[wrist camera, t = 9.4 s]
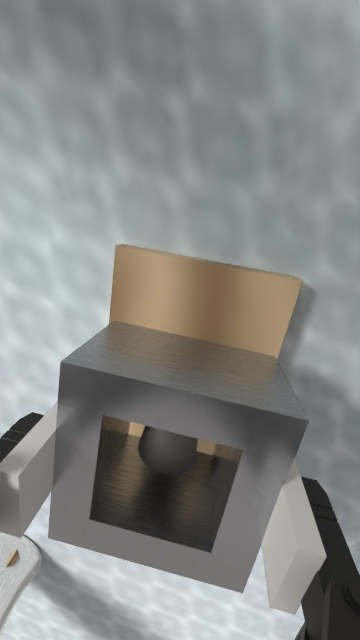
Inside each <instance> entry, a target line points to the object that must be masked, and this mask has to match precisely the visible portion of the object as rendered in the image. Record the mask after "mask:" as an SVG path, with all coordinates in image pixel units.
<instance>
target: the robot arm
mask: <svg viewBox="0 0 360 640" xmlns="http://www.w3.org/2000/svg"><path fill="white" fill-rule="evenodd" d="M57 406H58V401H57V402H56V404H55V405H54V406H53V407H52V408H51V409H50V410H49V411H48V412H47V413H46V414H45V415H41V414H37V413H33V412H32V413H30V414H29V415H27V416H25V417H23V418H21V419H19V420H18V421H17V422H16V423H15V424H14V425H13V426H12V427H11V428H10V429H9V431H7V432H6V433H5V434H4V435H3V436H2V437H1V439H0V532H1V533H4V534H8V535H12V536H15V537H19V538H21V537H22V536H23V534H24V533H25V531H26V529H27V528H28V526H29V525H30V523H31V522H32V520H33V518H34V517H35V515H36V514H37V512H38V511H39V509H40V507H41V506H42V504H43V503H44V501H45V500H46V498H47V497H48V495H49V493H50V492H51V490H52V489H53V471H54V453H55V435H56V420H57ZM261 544H262V552H263V559H264V567H265V574H266V582H267V590H268V597H269V605H270V608H274V609H277V610H281V611H284V612H288V613H292V614H296V612H297V610H298V608H299V606H300V605H301V604H302V609H303V613H304V618H305V622H304V624H303V626H302V628H301V629H300V631H299V633H298V635H297V636H296V638H295V640H360V575H359V573H358V571H357V568H356V566H355V563H354V561H353V558H352V556H351V553H350V551H349V548H348V546H347V543H346V541H345V538H344V536H343V533H342V531H341V528H340V526H339V523H337V518H336V516H335V513H334V511H332V506H331V503H330V501H329V498H328V496H327V494H326V492H325V491H324V490H323V488H322V487H321V486H320V484H319V483H318V482H317V480H313V479H309V478H304V477H301V476H300V472H299V469H298V466H297V463H296V460H295V458H294V461H293V463H292V466H291V469H290V471H289V474H288V476H287V479H286V482H285V484H284V485H282V488H281V491H280V493H279V496H278V499H277V502H276V504H275V507H274V510H273V513H272V515H271V518H270V521H269V524H268V526H267V529H266V532H265V535H264V537H263V540H262V543H261Z"/></svg>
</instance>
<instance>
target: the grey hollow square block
mask: <svg viewBox="0 0 360 640" xmlns="http://www.w3.org/2000/svg"><path fill="white" fill-rule="evenodd" d="M130 422H133V423H137V424H141V425H145V426H149V427H153V428H157V429H161V430H165V431H169V432H173V433H177V434H181V435H185V436H189V437H193V438H197V439H201V440H205V441H209V442H213V443H216V445H215V448H214V452H213V455H210V454H206V453H202V452H198V451H196V459H195V462H194V464H193V465H192V467H191V468H190V469H189V470H187V471H186V472H184V473H181V474H177V475H165V474H161V473H158V472H155V471H154V470H152V469H150V468H149V467H148V466H146V465H145V464H144V462H143V461H142V460H141V458H140V456H139V452H138V444H139V441H140V438H141V437H139V436H135V435H131V434H129V427H130ZM308 422H309V420H308V418H307V416H306V414H305V412H304V410H303V409H302V407H301V405H300V403H299V401H298V399H297V397H296V395H295V393H294V391H293V389H292V388H291V386H290V384H289V382H288V380H287V378H286V376H285V374H284V372H283V370H282V369H281V367H280V365H279V363H278V361H277V359H276V357H275V356H271V355H267V354H262V353H258V352H253V351H249V350H244V349H240V348H235V347H231V346H227V345H222V344H218V343H213V342H209V341H204V340H200V339H195V338H191V337H186V336H182V335H177V334H173V333H169V332H164V331H160V330H155V329H151V328H146V327H142V326H137V325H133V324H128V323H124V322H119V321H113V322H112V323H111V324H109V325H108V326H107V327H106V328H104V329H103V330H102V331H100V332H99V333H98V334H96V335H95V336H94V337H92V338H91V339H90V340H88V341H87V342H86V343H84V344H83V345H82V346H81V347H79V348H78V349H77V350H75V351H74V352H73V353H71V354H70V355H69V356H67V357H66V358H65V359H63V360H62V361H61V364H60V378H59V392H58V406H57V420H56V435H55V453H54V471H53V489H52V490H51V504H50V518H49V533H48V538H50V539H54V540H57V541H61V542H64V543H68V544H71V545H75V546H78V547H82V548H85V549H89V550H93V551H96V552H100V553H103V554H107V555H110V556H114V557H117V558H121V559H124V560H128V561H131V562H135V563H138V564H142V565H145V566H149V567H152V568H156V569H159V570H163V571H166V572H170V573H173V574H177V575H180V576H184V577H188V578H191V579H195V580H198V581H202V582H205V583H209V584H212V585H216V586H219V587H223V588H226V589H230V590H233V591H237V592H240V593H243V591H244V588H245V586H246V583H247V580H248V578H249V575H250V573H251V570H252V567H253V565H254V562H255V560H256V557H257V554H258V552H259V549H260V547H261V543H262V540H263V537H264V535H265V532H266V529H267V526H268V524H269V521H270V518H271V515H272V513H273V510H274V507H275V504H276V502H277V499H278V496H279V493H280V491H281V488H282V485H284V484H285V482H286V479H287V476H288V474H289V471H290V469H291V466H292V463H293V461H294V458H295V456H296V453H297V450H298V448H299V445H300V443H301V440H302V437H303V435H304V432H305V430H306V427H307V424H308Z"/></svg>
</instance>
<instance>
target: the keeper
mask: <svg viewBox="0 0 360 640" xmlns="http://www.w3.org/2000/svg"><path fill="white" fill-rule="evenodd" d="M302 282H303V281H301V280H300V279H298V278H297V277H292V276H287V275H282V274H277V273H271V272H266V271H261V270H256V269H250V268H245V267H240V266H235V265H229V264H224V263H219V262H214V261H208V260H203V259H198V258H193V257H187V256H182V255H177V254H172V253H166V252H161V251H156V250H150V249H145V248H140V247H135V246H129V245H124V244H122V245H117V246H116V250H115V261H114V273H113V284H112V296H111V307H110V319H109V324H111V323H112V322H113V321H119V322H124V323H128V324H133V325H137V326H142V327H146V328H151V329H155V330H160V331H164V332H169V333H173V334H177V335H182V336H186V337H191V338H195V339H200V340H204V341H209V342H213V343H218V344H222V345H227V346H231V347H235V348H240V349H244V350H249V351H253V352H258V353H262V354H267V355H271V356H275V357H276V359H278V356H279V353H280V349H281V346H282V343H283V340H284V337H285V334H286V331H287V328H288V325H289V322H290V319H291V316H292V313H293V310H294V307H295V304H296V301H297V298H298V295H299V291H300V288H301V285H302ZM129 434H131V435H135V436H139V437H141V438H140V441H139V444H138V452H139V456H140V458H141V460H142V461H143V462H144V464H145V465H146V466H148V467H149V468H150V469H152V470H154V471H155V472H158V473H161V474H165V475H177V474H181V473H184V472H186V471H187V470H189V469H190V468H191V467H192V465H193V464H194V462H195V459H196V451H198V452H202V453H206V454H210V455H213V452H214V448H215V445H216V443H213V442H209V441H205V440H201V439H197V438H193V437H189V436H185V435H181V434H177V433H173V432H169V431H165V430H161V429H157V428H153V427H149V426H145V425H141V424H137V423H133V422H130V427H129Z"/></svg>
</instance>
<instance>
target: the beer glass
mask: <svg viewBox="0 0 360 640" xmlns="http://www.w3.org/2000/svg"><path fill="white" fill-rule="evenodd" d="M41 565H42V554H41V552H40V550H39V548H38V547H37V546H36V545H35V544H34V543H33V542H32V541H31V540H30V539H28V538H27V537H25V536H24V535H23V536H22V537H21V538H19V537H15V536H12V535H8V534H4V533H1V532H0V637H1V635H2V632H3V630H4V627H5V625H6V623H7V621H8V619H9V617H10V615H11V613H12V611H13V609H14V607H15V605H16V603H17V602H18V600H19V598H20V597H21V595H22V594H23V592H24V591H25V589H26V588H27V586H28V585H29V584H30V582H31V581H32V579H33V578H34V576H35V575H36V574H37V572H38V571H39V569H40V567H41Z"/></svg>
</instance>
